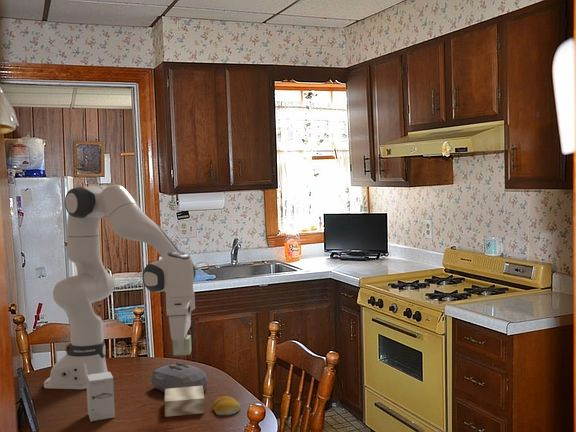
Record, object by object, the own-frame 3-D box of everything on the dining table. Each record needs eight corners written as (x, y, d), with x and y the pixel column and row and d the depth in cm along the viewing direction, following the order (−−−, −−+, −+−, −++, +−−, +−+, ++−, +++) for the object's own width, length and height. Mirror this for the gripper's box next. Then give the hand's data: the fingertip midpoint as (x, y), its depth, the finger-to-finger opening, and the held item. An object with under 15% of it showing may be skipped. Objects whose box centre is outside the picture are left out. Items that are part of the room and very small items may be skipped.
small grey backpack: (145, 390, 218) (185, 402, 205) (144, 366, 217) (184, 376, 205) (179, 378, 229) (218, 388, 217) (178, 355, 229) (217, 365, 216)
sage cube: (173, 355, 196) (172, 339, 195) (175, 351, 201) (175, 335, 200) (189, 354, 196) (189, 338, 196) (191, 350, 201) (190, 334, 201)
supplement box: (90, 422, 190) (88, 381, 189) (87, 414, 196) (85, 374, 196) (115, 418, 193) (113, 377, 192) (112, 410, 199) (110, 370, 199)
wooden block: (165, 417, 193) (164, 401, 192) (165, 404, 204) (165, 388, 204) (204, 414, 195) (204, 398, 194) (203, 400, 206) (202, 385, 206)
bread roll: (217, 418, 191) (217, 405, 190) (210, 408, 199) (209, 395, 199) (244, 413, 194) (243, 400, 193) (235, 404, 202) (235, 391, 202)
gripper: (174, 298, 208) (176, 339, 208) (165, 311, 187) (167, 357, 188) (194, 297, 208) (196, 338, 209) (187, 310, 187) (188, 356, 188)
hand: (182, 347), depth 198 cm, fingers closed on sage cube, 5 cm apart
